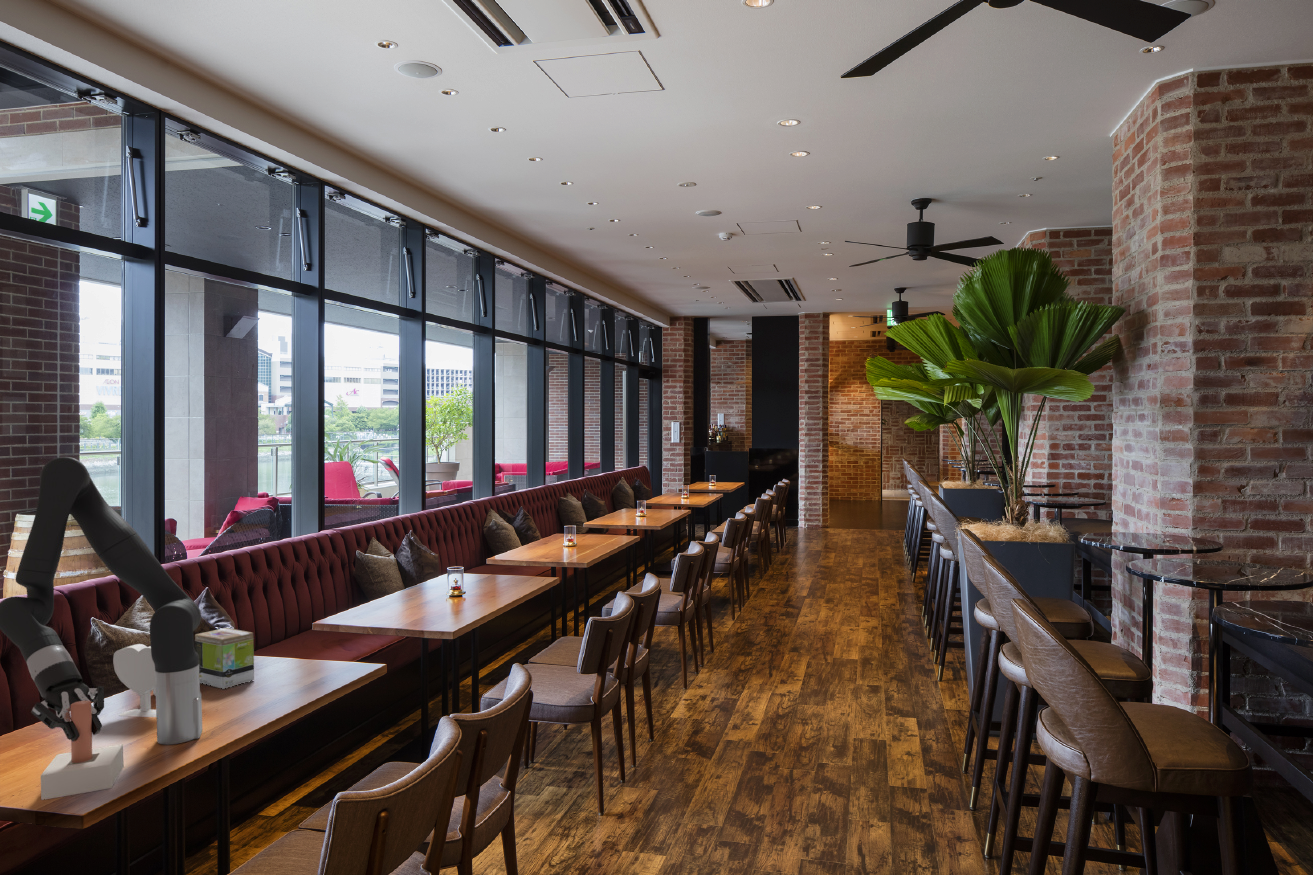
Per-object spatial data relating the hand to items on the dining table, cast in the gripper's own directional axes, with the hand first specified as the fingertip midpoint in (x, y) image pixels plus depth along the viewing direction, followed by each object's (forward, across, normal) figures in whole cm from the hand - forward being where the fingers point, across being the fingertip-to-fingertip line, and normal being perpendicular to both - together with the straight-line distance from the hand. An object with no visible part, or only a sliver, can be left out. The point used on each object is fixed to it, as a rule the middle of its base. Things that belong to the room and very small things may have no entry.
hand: (87, 734), depth 169 cm
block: (+6, 0, +9) cm, 11 cm away
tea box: (-20, +59, +35) cm, 71 cm away
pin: (+2, 0, +5) cm, 6 cm away
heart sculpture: (-16, +32, +31) cm, 48 cm away
